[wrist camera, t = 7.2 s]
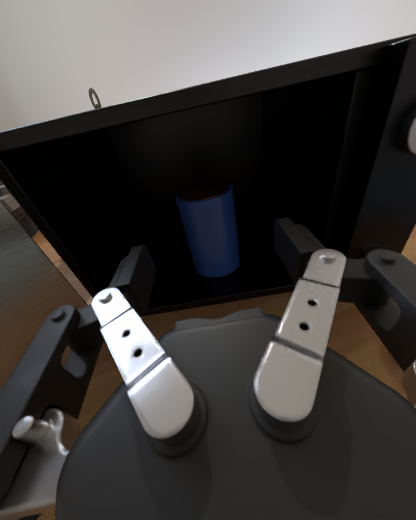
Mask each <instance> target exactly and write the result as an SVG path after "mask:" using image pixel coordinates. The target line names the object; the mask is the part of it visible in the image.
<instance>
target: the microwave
mask: <svg viewBox="0 0 416 520" xmlns="http://www.w3.org/2000/svg"><path fill="white" fill-rule="evenodd" d="M208 180H225V181H228V182H230V183H232V185H233V191H234V201H235V211H236V220H237V230H238V239H239V249H240V258H241V261H240V264H239V266H238V267H237V268H236V270H234V271H233V272H231V273H230V274H228V275H225V276H222V277H205V276H202V275H200V274H199V273H198V272H197V271H196V270H195V268H194V264H193V261H192V258H191V254H190V251H189V247H188V244H187V240H186V237H185V234H184V230H183V227H182V223H181V220H180V216H179V213H178V210H177V206H176V203H175V199H174V196H175V194H176V193H177V192H178V191H179V190H181V189H182V188H184V187H186V186H189V185H191V184H194V183H198V182H202V181H208ZM0 181H1V182H2V183H3V185H4V186H5V187H6V188H7V190H8V191H9V192H10V194H11V195H12V196H13V197H14V199H15V200H16V201H17V202H18V204H19V205H20V206H21V207H22V209H23V210H24V211H25V213H26V214H27V215H28V216H29V218H30V219H31V220H32V221H33V223H34V224H35V225H36V226H37V228H38V229H39V230H40V232H41V233H42V234H43V235H44V237H45V238H46V239H47V240H48V242H49V243H50V244H51V245H52V247H53V248H54V249H55V251H56V252H57V253H58V254H59V256H60V257H61V258H62V259H63V261H64V262H65V263H66V264H67V266H68V267H69V268H70V270H71V271H72V272H73V273H74V275H75V276H76V277H77V278H78V280H79V281H80V282H81V284H82V285H83V286H84V287H85V289H86V290H87V291H88V292H89V294H90V295H91V296H92V297H93V298H94V297H95V296H96V295H97V294H98V293H99V292H101V291H102V290H104V289H107V288H108V287H109V285H110V283H111V281H112V279H113V277H114V274H115V273H116V270H117V269H118V266H119V264H120V262H121V261H122V260H123V259H124V258H125V257H126V256H128V255H129V253H130V251H131V248H132V247H134V246H140V245H146V247H147V249H148V251H149V253H150V255H151V258H152V260H153V262H154V264H155V269H156V273H155V278H154V282H153V287H152V291H151V296H150V300H149V304H148V309H147V313H146V314H140V315H139V317H141V316H147V315H153V314H159V313H165V312H171V311H177V310H183V309H189V308H195V307H201V306H207V305H213V304H219V303H225V302H231V301H237V300H243V299H249V298H255V297H261V296H267V295H273V294H278V293H284V292H290V291H294V289H295V287H296V285H295V284H294V282H293V280H292V278H291V277H290V275H289V273H288V271H287V270H286V268H285V266H284V264H283V263H282V261H281V259H280V257H279V256H278V254H277V252H276V250H275V247H274V221H275V219H280V218H285V217H289V218H290V219H291V221H292V222H293V223H294V224H297V223H299V224H301V225H303V226H305V227H306V228H307V229H308V230H309V231H310V233H312V234H313V235H314V237H316V238H317V239H318V240H319V241H320V242H321V243H322V245H323V246H324V247H325V248H326V249H333V250H336V251H339V252H341V253H342V254H343V255H344V256H345V257H346V258H348V259H366V257H367V254H368V253H369V252H371V251H373V250H390V251H394V252H397V253H399V254H401V252H402V250H403V248H404V246H405V244H406V242H407V240H408V238H409V236H410V234H411V232H412V230H413V228H414V226H415V224H416V34H412V35H407V36H403V37H399V38H394V39H390V40H386V41H382V42H378V43H374V44H369V45H365V46H361V47H357V48H352V49H348V50H344V51H340V52H335V53H331V54H327V55H323V56H318V57H314V58H311V59H306V60H302V61H297V62H294V63H289V64H285V65H280V66H277V67H272V68H268V69H263V70H260V71H255V72H251V73H247V74H242V75H238V76H234V77H230V78H226V79H221V80H217V81H213V82H209V83H204V84H200V85H196V86H192V87H188V88H183V89H179V90H175V91H171V92H166V93H163V94H158V95H154V96H149V97H145V98H141V99H137V100H133V101H128V102H124V103H120V104H116V105H111V106H107V107H103V108H99V109H94V110H90V111H86V112H82V113H78V114H73V115H69V116H65V117H61V118H56V119H52V120H48V121H44V122H40V123H36V124H31V125H27V126H23V127H18V128H14V129H10V130H6V131H2V132H0Z"/></svg>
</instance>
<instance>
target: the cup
mask: <svg viewBox="0 0 416 520" xmlns="http://www.w3.org/2000/svg"><path fill="white" fill-rule="evenodd" d="M174 199H175V203H176V206H177V210H178V213H179V216H180V220H181V223H182V227H183V230H184V234H185V237H186V240H187V244H188V247H189V251H190V254H191V258H192V261H193V264H194V268H195V270H196V271H197V272H198V273H199V274H200V275H202V276H205V277H222V276H225V275H228V274H230V273H231V272H233V271H234V270H236V268H237V267H238V266H239V264H240V261H241V258H240V249H239V239H238V230H237V220H236V211H235V201H234V191H233V185H232V183H230V182H228V181H225V180H208V181H202V182H198V183H194V184H191V185H189V186H186V187H184V188H182V189H181V190H179V191H178V192H177V193H176V194H175V196H174Z"/></svg>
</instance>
